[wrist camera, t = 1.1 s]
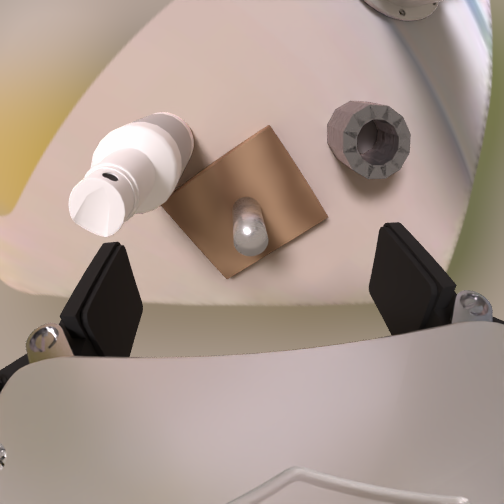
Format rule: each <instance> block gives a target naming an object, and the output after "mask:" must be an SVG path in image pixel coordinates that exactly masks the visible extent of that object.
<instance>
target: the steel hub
mask: <svg viewBox="0 0 504 504" xmlns="http://www.w3.org/2000/svg"><path fill="white" fill-rule="evenodd" d="M371 120H373V121H374V123H375V125H376V127H377V140H376V142H375V144H374V146H373V147H372V149H370V150H368V151H367V152H365V153H363V154H360V153H359V152H358V150H357V136H358V134H359V132H360V130H361V128H362V127H363V125H364V124H366V123H368V122H370V121H371ZM410 136H411V134H410V132H409V129H408V127H407V125H406V123H405V120H404V118H403V117H402V116H401V115H400V114H398V113H397V112H396V111H394V110H393V109H392V108H390V107H389V106H386V105H381V104H376V103H371V102H362V101H350V102H348V103H346V104H344V105H342V106H341V107H339V108H337V109H336V110H335V112H334V113H333V115H332V117H331V119H330V121H329V122H328V124H327V143H328V144H329V146H330V148H331V150H332V151H333V153H334V155H335V157H336V158H337V159H339V160H340V161H341V162H343V163H344V164H345V165H347V166H348V167H349V168H351V169H352V170H354V171H355V172H357V173H359V174H360V175H362V176H364V177H365V178H367V179H385V178H387V177H389V176H390V175H392V174H393V173H395V172H397V171H398V170H400V169H401V167H402V165H403V164H404V162H405V160H406V158H407V157H408V155H409V152H410Z"/></svg>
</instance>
